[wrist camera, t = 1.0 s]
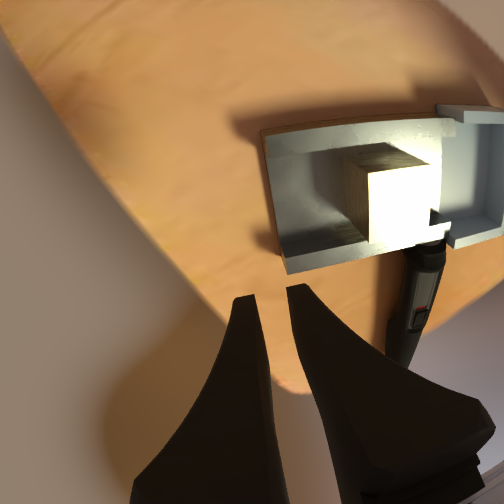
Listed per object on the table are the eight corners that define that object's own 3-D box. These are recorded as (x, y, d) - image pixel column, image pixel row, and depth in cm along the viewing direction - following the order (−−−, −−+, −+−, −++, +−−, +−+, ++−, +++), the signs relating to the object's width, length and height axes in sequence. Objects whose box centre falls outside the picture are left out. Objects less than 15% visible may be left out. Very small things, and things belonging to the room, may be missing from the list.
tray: (491, 106, 16) (518, 113, 14) (484, 218, 21) (505, 234, 19) (436, 104, 16) (463, 110, 14) (432, 230, 21) (454, 249, 19)
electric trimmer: (370, 364, 29) (381, 389, 26) (398, 224, 20) (421, 247, 18) (402, 355, 29) (415, 378, 26) (438, 219, 21) (463, 239, 18)
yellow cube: (400, 149, 17) (431, 164, 14) (400, 207, 19) (428, 230, 16) (342, 156, 17) (367, 173, 14) (346, 217, 19) (369, 243, 16)
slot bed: (436, 112, 17) (455, 118, 15) (433, 223, 21) (449, 236, 19) (259, 130, 17) (265, 136, 15) (281, 257, 21) (287, 274, 19)
